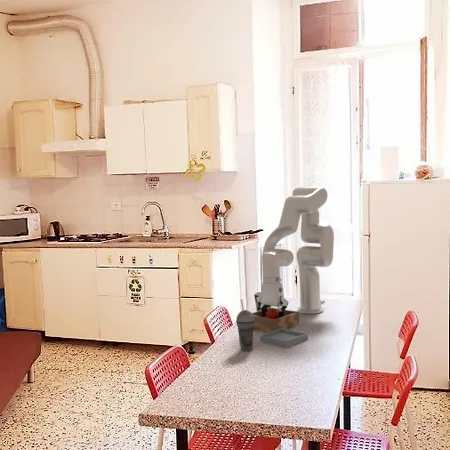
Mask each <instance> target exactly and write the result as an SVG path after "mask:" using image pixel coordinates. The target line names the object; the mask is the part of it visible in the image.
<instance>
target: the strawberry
mask: <svg viewBox="0 0 450 450" xmlns="http://www.w3.org/2000/svg"><path fill="white" fill-rule="evenodd" d="M272 308H273V309H272ZM272 308H267V309H269V310H268V311H267V312H266V318H271V319H278V318H279V317H278V310H276V308H277V307H272Z"/></svg>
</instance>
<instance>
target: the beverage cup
mask: <svg viewBox="0 0 450 450" xmlns="http://www.w3.org/2000/svg"><path fill="white" fill-rule="evenodd" d="M240 302H241V309H242V310H241V311H240V312H238V314H237V315H236V320H235V322H236V326H237V327H236V328H237V331H238V339H239V346H240V351H241V352H246V353H247V352H252V351H253V349H254V348H253V346H254V321H255V320H254V316H253V314H252V313H253V312H252V311H249V310H247V309H246V310H245V309H244V302H243V299H242V298H241V299H240Z"/></svg>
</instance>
